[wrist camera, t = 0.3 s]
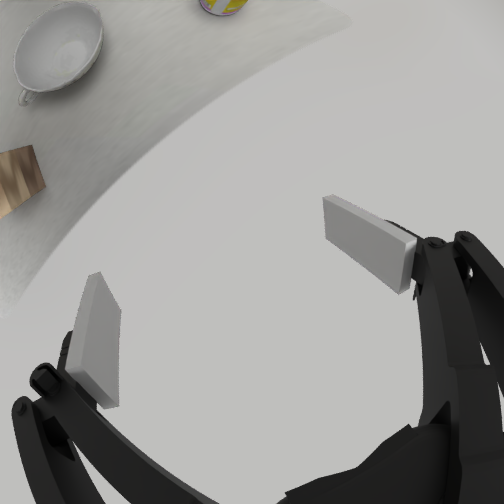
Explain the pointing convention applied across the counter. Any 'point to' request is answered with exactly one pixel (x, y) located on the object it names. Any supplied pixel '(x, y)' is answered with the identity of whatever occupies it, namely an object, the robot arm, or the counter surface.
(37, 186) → the tower base
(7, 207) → the tower mid
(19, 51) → the teacup
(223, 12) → the supplement bottle
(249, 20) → the counter surface
